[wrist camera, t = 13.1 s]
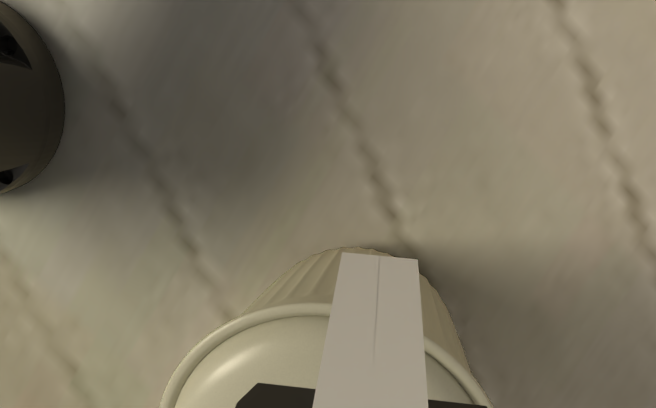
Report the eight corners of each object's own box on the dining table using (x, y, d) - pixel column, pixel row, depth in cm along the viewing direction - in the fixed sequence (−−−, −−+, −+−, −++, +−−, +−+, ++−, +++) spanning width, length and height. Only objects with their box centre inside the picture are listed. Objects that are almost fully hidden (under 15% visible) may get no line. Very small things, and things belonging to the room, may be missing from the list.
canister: (231, 396, 50) (102, 640, 30) (258, 185, 45) (123, 311, 25) (452, 448, 48) (470, 743, 28) (507, 234, 43) (577, 412, 23)
